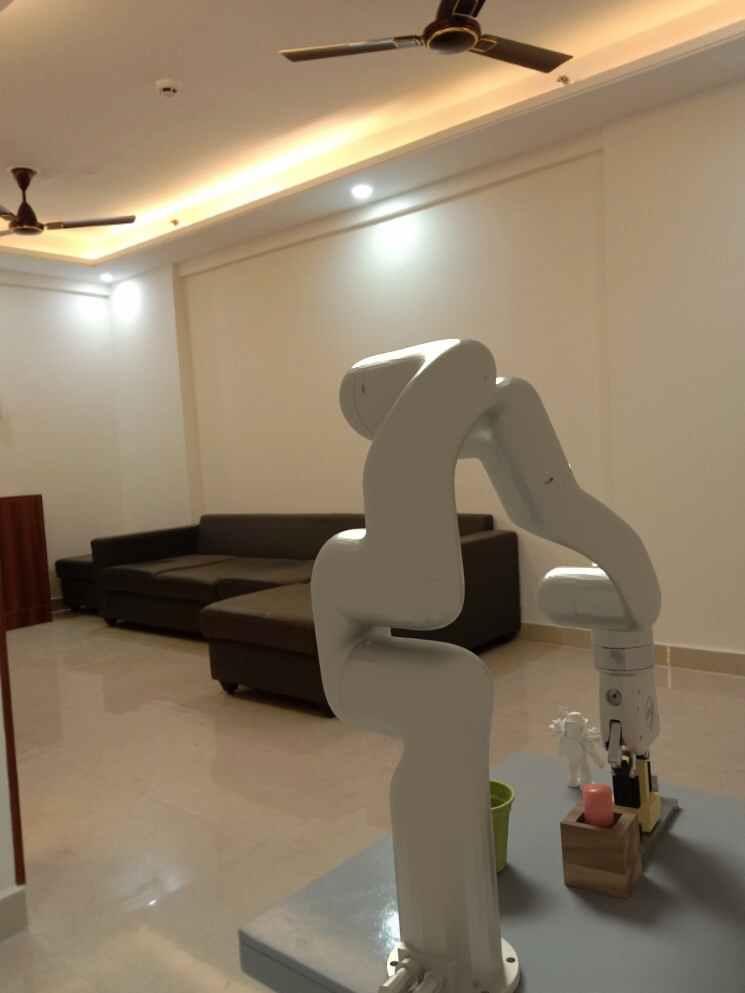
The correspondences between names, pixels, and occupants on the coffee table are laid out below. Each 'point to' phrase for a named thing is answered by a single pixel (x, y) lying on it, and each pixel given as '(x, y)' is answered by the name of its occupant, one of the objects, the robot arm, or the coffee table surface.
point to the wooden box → (601, 852)
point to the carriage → (644, 799)
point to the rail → (665, 815)
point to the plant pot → (500, 819)
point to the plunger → (598, 805)
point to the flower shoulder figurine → (577, 746)
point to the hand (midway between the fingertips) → (633, 796)
